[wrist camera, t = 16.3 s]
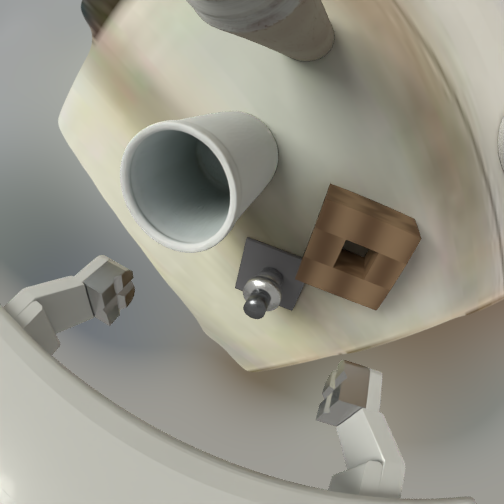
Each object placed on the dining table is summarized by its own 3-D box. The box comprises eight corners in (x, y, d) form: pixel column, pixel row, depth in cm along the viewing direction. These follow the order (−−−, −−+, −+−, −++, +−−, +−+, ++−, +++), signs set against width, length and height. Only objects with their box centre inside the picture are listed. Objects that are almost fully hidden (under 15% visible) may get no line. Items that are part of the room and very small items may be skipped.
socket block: (414, 219, 38) (421, 238, 33) (376, 286, 46) (376, 310, 41) (330, 183, 40) (325, 198, 35) (302, 257, 48) (294, 279, 43)
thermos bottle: (265, 26, 30) (118, -35, 8) (314, 2, 26) (229, -114, 4) (294, 70, 33) (173, 46, 11) (345, 47, 28) (319, -41, 6)
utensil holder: (186, 112, 41) (106, 135, 27) (278, 101, 36) (225, 111, 22) (201, 195, 48) (137, 248, 35) (286, 197, 43) (245, 259, 30)
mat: (313, 262, 48) (312, 264, 47) (292, 308, 55) (292, 310, 55) (247, 237, 50) (246, 238, 49) (236, 286, 57) (235, 287, 56)
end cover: (293, 271, 49) (278, 306, 42) (282, 296, 53) (267, 330, 46) (258, 256, 50) (238, 288, 43) (250, 282, 54) (231, 315, 47)
